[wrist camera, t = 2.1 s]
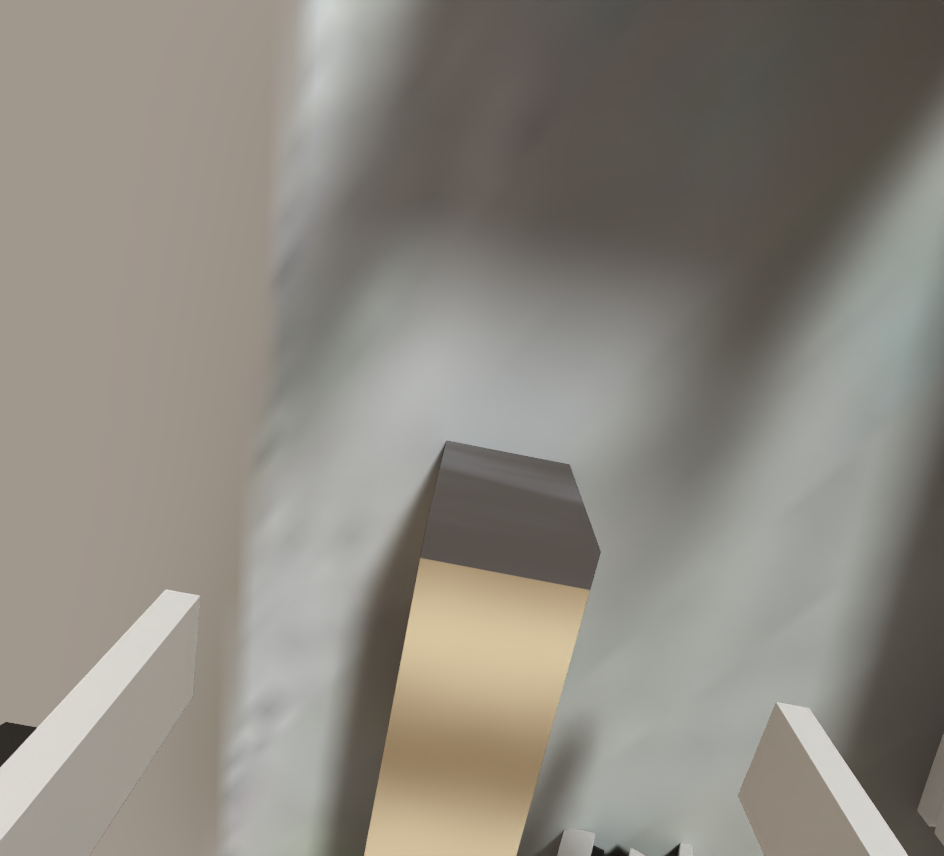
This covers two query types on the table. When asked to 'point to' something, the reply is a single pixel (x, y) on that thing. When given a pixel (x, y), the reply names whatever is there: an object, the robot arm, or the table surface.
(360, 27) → the table surface
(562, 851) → the white rounded block
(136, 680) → the robot arm
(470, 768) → the tan wooden block
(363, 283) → the table surface
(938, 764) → the white ribbed block
